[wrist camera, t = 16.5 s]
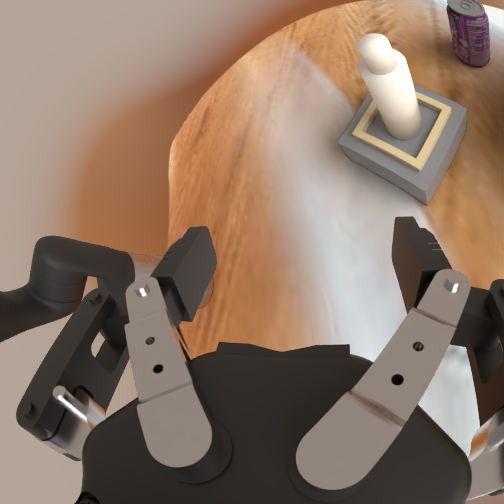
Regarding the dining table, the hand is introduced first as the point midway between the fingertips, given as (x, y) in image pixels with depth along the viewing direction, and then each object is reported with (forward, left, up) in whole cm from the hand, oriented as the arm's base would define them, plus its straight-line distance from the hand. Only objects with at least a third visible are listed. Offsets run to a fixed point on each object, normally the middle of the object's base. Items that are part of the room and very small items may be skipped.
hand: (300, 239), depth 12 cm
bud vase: (-9, +18, -23) cm, 30 cm away
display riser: (-9, +18, -29) cm, 35 cm away
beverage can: (-6, +42, -29) cm, 51 cm away
